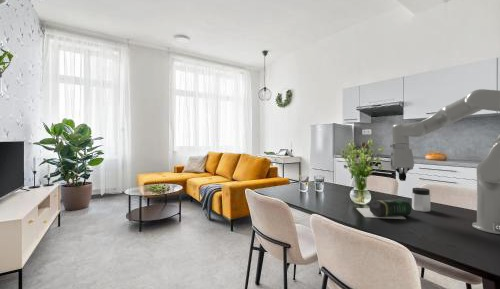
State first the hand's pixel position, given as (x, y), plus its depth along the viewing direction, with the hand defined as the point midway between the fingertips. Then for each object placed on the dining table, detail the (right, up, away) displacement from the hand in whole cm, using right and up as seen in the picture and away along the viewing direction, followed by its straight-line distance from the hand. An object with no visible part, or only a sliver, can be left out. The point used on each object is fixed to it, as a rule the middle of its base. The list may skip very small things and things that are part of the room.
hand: (402, 180), depth 129 cm
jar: (+16, -19, +9) cm, 26 cm away
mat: (-11, -19, +3) cm, 22 cm away
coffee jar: (+1, -14, 0) cm, 14 cm away
